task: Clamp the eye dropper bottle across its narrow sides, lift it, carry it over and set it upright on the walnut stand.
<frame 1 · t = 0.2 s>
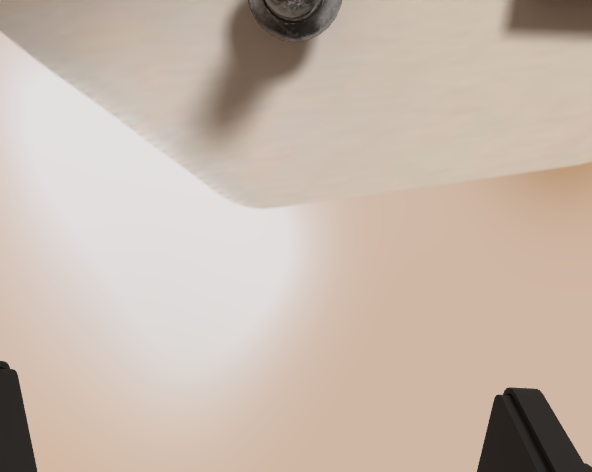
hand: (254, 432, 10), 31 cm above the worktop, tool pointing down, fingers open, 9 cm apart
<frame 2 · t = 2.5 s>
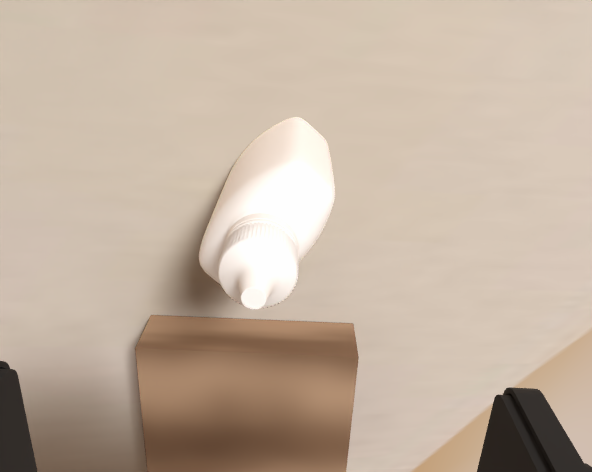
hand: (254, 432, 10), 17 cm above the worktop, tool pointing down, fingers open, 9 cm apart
walnut stand: (251, 398, 31), on the worktop
eye dropper bottle: (274, 168, 26), on the worktop
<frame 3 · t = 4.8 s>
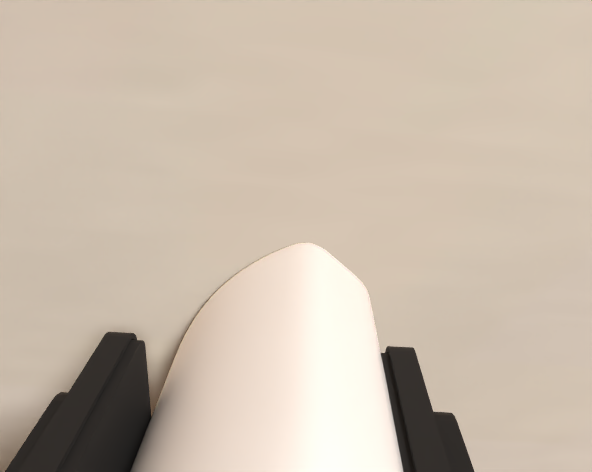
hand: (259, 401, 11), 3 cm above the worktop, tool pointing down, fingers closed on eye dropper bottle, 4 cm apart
eye dropper bottle: (268, 322, 14), on the worktop, touching gripper
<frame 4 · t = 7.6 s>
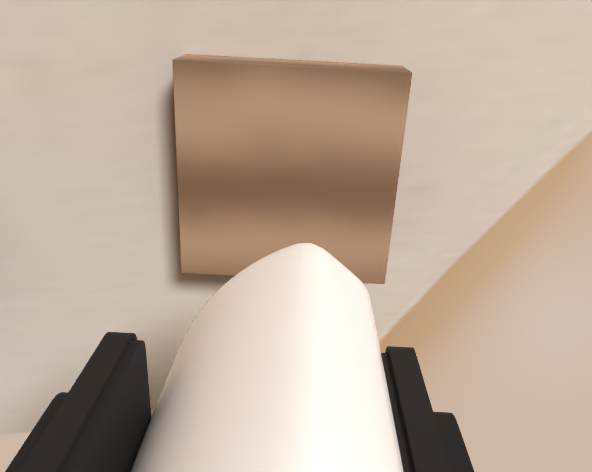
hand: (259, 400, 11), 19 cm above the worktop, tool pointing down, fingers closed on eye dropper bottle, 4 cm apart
walnut stand: (289, 164, 29), on the worktop
eye dropper bottle: (268, 322, 14), point 16 cm above the worktop, touching gripper
when the fingers open (7 cm above the worktop, at t = 10.7 s): eye dropper bottle drops 1 cm, resting on walnut stand.
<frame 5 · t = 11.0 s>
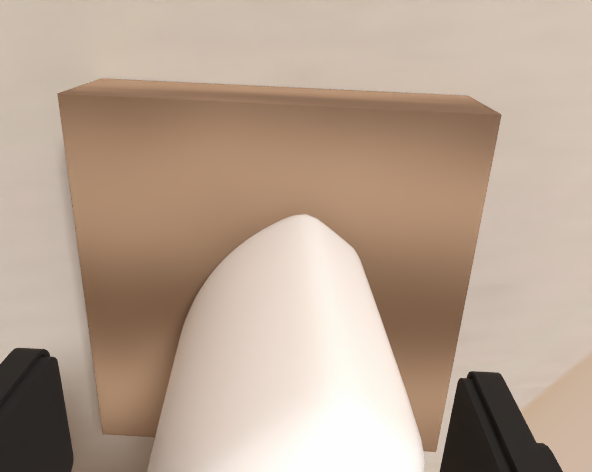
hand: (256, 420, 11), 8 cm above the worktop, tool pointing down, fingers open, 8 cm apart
walnut stand: (279, 253, 18), on the worktop
eye dropper bottle: (266, 291, 15), point 3 cm above the worktop, touching walnut stand
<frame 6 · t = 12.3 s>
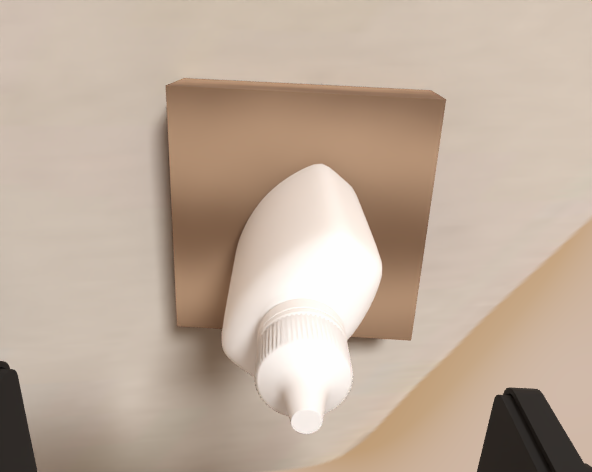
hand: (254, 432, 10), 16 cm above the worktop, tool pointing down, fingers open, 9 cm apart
walnut stand: (301, 201, 26), on the worktop
eye dropper bottle: (294, 218, 23), point 3 cm above the worktop, touching walnut stand
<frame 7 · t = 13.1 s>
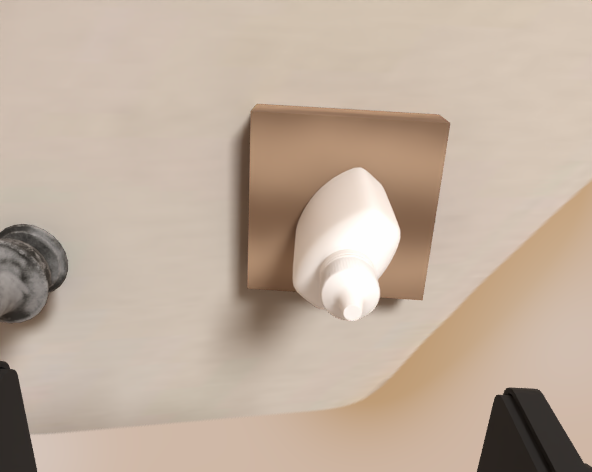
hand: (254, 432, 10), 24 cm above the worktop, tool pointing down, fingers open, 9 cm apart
walnut stand: (340, 196, 34), on the worktop
salt shaker: (31, 258, 37), on the worktop
eye dropper bottle: (338, 207, 31), point 3 cm above the worktop, touching walnut stand
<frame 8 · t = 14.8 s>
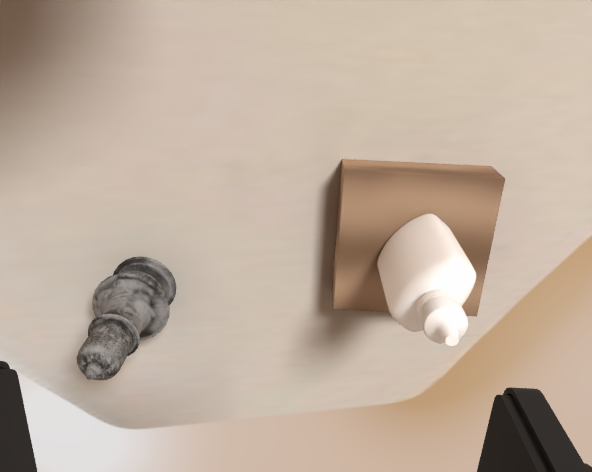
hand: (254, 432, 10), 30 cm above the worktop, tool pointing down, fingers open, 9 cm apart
walnut stand: (407, 231, 41), on the worktop
salt shaker: (145, 284, 44), on the worktop
eye dropper bottle: (411, 244, 39), point 3 cm above the worktop, touching walnut stand
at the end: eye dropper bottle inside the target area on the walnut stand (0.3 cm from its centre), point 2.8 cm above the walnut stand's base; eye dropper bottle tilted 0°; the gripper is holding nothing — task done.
